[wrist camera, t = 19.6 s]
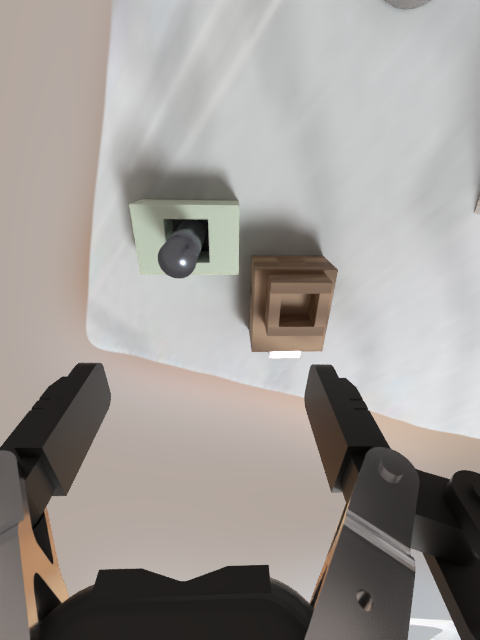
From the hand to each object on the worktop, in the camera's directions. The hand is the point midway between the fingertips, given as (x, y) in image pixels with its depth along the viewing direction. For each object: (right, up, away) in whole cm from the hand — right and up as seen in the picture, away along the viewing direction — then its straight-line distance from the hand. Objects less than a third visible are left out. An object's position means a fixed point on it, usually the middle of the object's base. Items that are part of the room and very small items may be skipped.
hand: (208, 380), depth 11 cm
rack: (-5, +14, +26) cm, 30 cm away
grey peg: (-5, +14, +26) cm, 30 cm away
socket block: (+8, +6, +31) cm, 32 cm away
